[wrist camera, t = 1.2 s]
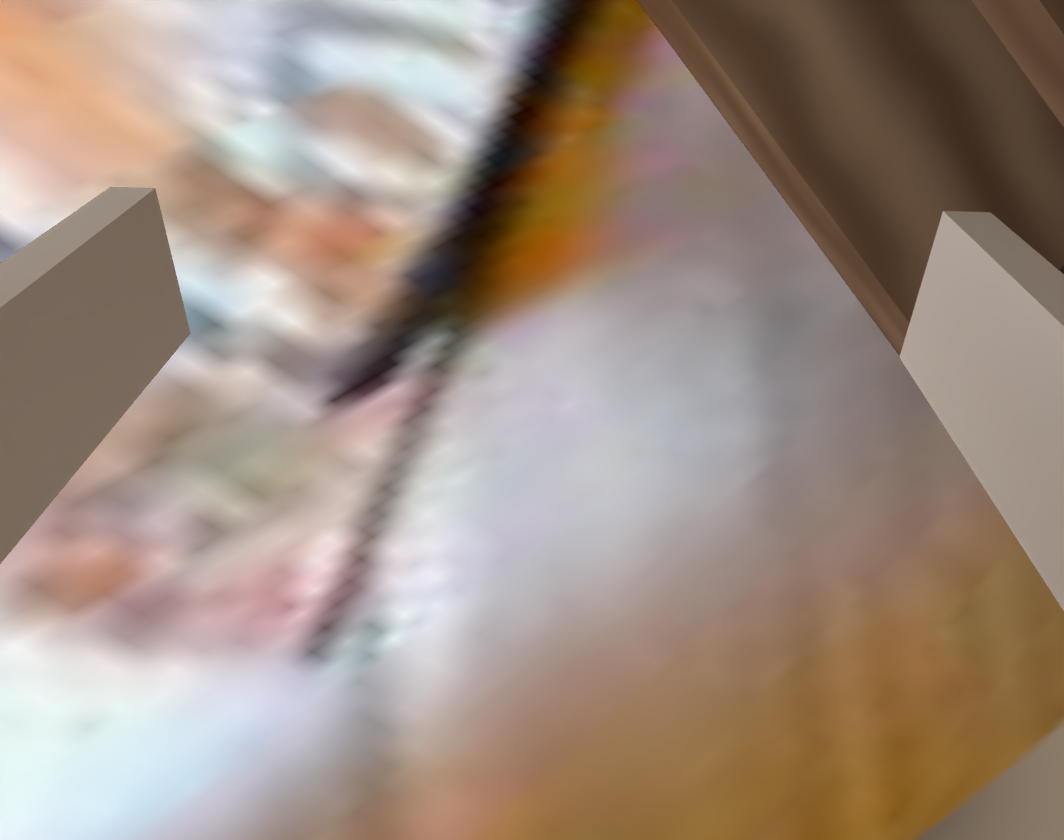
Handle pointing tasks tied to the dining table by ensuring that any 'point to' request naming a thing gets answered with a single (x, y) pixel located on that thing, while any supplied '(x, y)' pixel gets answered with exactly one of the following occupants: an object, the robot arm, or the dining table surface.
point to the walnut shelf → (889, 121)
